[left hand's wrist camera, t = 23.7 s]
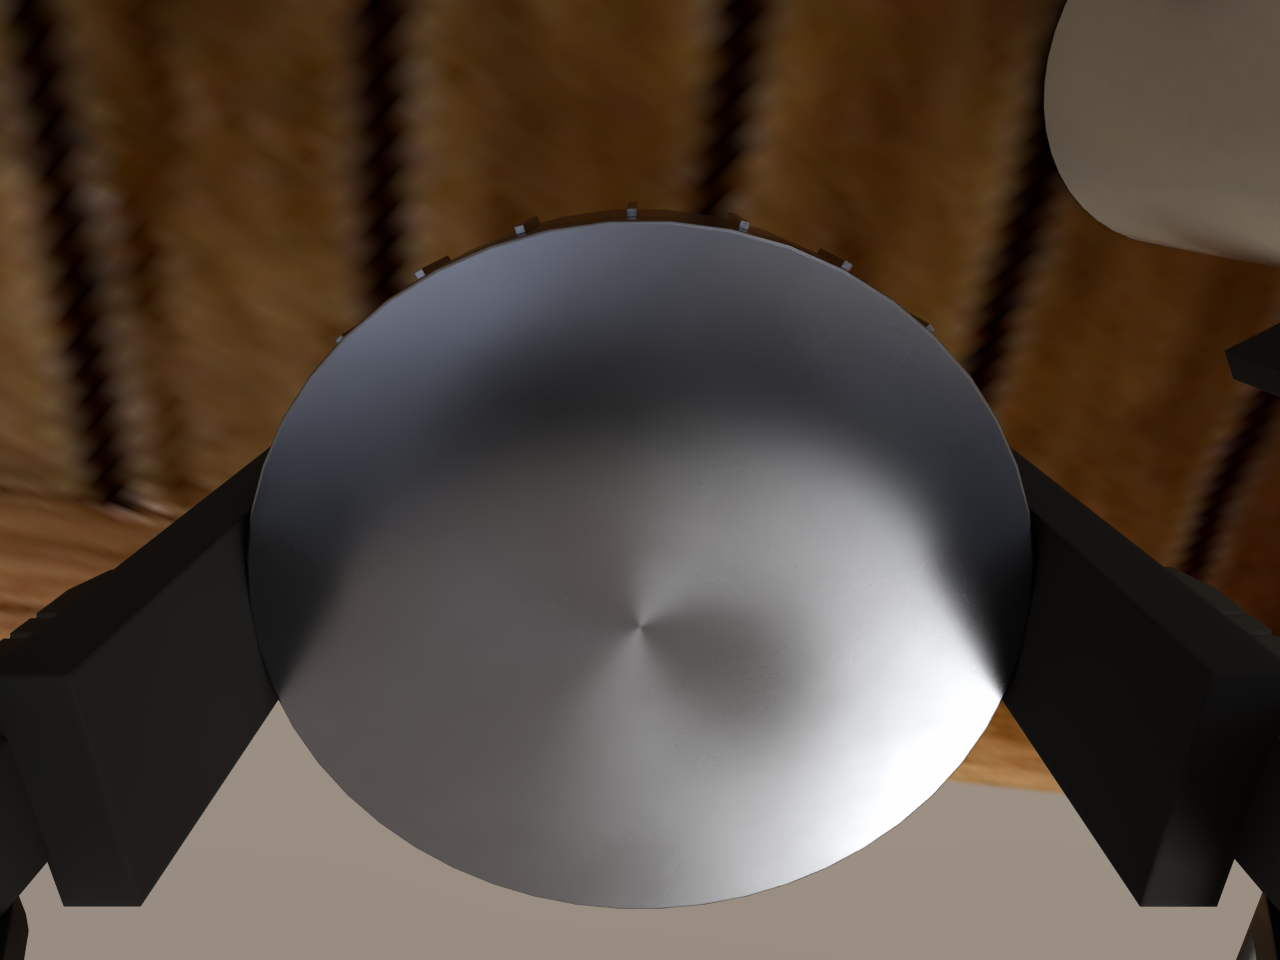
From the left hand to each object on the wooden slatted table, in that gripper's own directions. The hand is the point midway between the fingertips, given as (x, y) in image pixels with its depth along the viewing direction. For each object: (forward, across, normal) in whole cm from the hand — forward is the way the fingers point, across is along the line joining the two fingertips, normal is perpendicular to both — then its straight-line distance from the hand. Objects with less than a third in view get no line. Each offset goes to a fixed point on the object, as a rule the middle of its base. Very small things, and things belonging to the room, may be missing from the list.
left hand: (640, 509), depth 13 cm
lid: (-3, 0, 0) cm, 3 cm away
